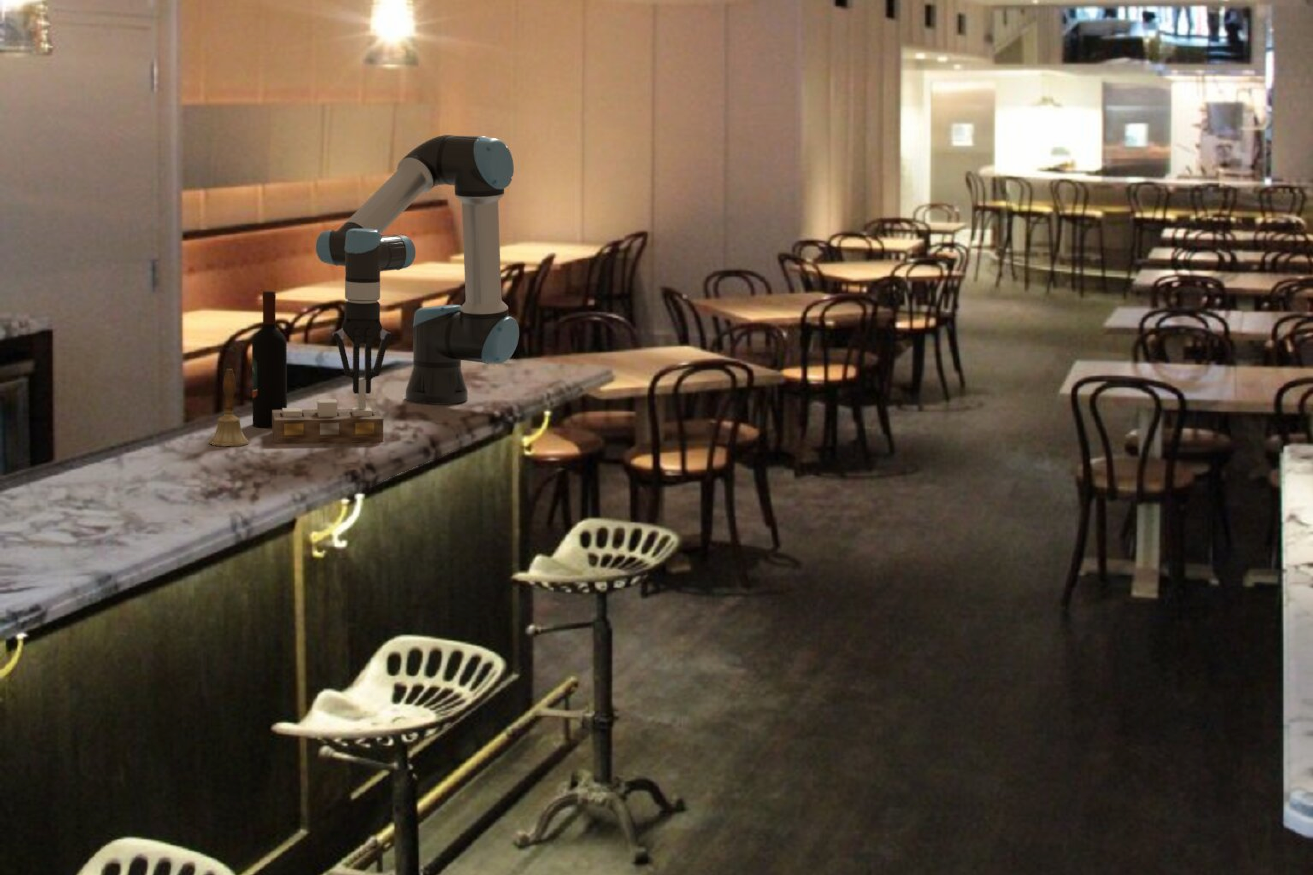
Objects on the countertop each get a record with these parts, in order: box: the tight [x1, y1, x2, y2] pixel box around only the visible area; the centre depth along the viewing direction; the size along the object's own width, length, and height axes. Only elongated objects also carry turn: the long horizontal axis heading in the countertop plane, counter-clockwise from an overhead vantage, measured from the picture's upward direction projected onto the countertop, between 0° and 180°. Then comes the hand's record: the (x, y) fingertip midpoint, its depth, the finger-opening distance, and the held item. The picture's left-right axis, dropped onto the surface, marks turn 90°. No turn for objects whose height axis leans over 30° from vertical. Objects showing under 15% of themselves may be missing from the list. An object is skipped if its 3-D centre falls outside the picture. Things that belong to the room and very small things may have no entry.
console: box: [271, 408, 384, 444], centre depth 394 cm, size 23×12×5 cm, turn 105°
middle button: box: [316, 398, 338, 417], centre depth 393 cm, size 4×4×5 cm
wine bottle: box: [251, 290, 288, 429], centre depth 402 cm, size 8×8×30 cm
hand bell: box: [208, 368, 250, 447], centre depth 383 cm, size 8×8×16 cm
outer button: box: [282, 407, 303, 417], centre depth 392 cm, size 4×4×5 cm
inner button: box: [351, 406, 373, 416], centre depth 395 cm, size 4×4×5 cm
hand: (361, 408), depth 395 cm, fingers closed
